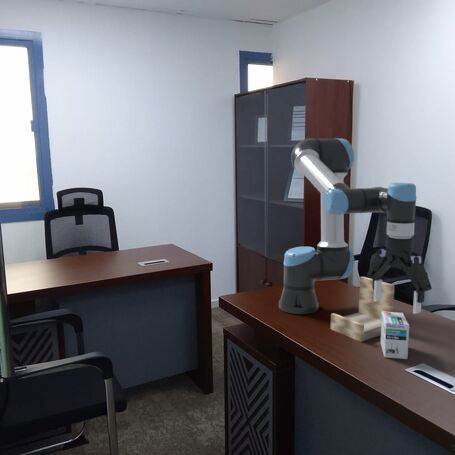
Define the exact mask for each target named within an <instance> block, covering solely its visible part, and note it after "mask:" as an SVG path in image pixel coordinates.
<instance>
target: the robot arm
mask: <svg viewBox="0 0 455 455" xmlns="http://www.w3.org/2000/svg"><path fill="white" fill-rule="evenodd" d="M290 162H291V165H292V167H293V168H294V170H295V171H296V172H297V173H299V174H300V175H304V177H306V179H307V180H308V181H309V182H310V183H311V185H313V187H314V188H315V189H316V190H317V191H318V192H319V193H320V241H319V242H318V244H317V246H316V247H317V248H316V249H315V248H314V247H312V246H307V245H306V246H297V247H292V248H289V249H288V250H286V251H285V253H284V255H283V256H284V259H283V289H282V293H281V296H280V298H279V300H278V309H280V310H281V311H282V312H285V313H288V314H294V315H309V314H314V313H316V312H318V310H319V300H318V298H317V294H316V291H315V282H317V281H318V282H319V281H329V280H331V281H332V280H335V281H337V280H341V279H346V278H348V277H349V276H350V275H351V274H352V272H353V270H354V267H355V257H354V253H353V250H352V249H350V248H349V244H348V243H347V242H345V235H344V234H345V228H344V227H345V226H344V225H345V222H344V221H345V220H344V219H345V218H344V217H345V216H344V215H346V214H365V213H366V214H367V213H368V214H371V213H373V214H374V213H383V214H386V216H387V218H386V233H385V234H386V235H387V236H386V237H385V248H380V249H377V250H376V255H375V258H374V260H373V262H372V264H371V265H370V267H369V269H368V272H367V274H366V275H367V278H370V279H372V280H373V285H372V288H373V290H374V301H375V302H376V301H380V300H381V295H382V282H383V279H381V278H382V276H384V275H385V273H386V272H387V271H389V269H390V268H391V267H392V268H396V269H400V270H401V269H402V270H403V272H405V273H406V275H407V277H408V278H409V280H410V282H411V283H412V285H413V287H414V289H416V290H414V291H413V304H412V305H413V306H412V307H413V308H412V314H414V315H416V314H420V313H421V312H422V303H424V302H425V293H426V292H428V291H431V290H432V289H433V287H432V285H431V281H430V279H429V277H428V274H427V271H426V268H425V265H424V262H423V261H424V260H423V256H422V255H418V256H417V255H416V256H415V255H413V250H414V240H415V239H414V238H413V236H415V218H416V206H417V205H416V203H417V187H416V185H415V183H411V182H393V183H392V182H391V183H389V185H388V188H387V187H383V186H375V187H374V186H373V187H367V188H366V187H364V188H360V187H359V188H350V187H349V186H348V185H347V184H346V183H345V182H344V178H345V177H346V176H347V175H348V170H349V169H351V168H353V165H354V162H355V153H354V148H353V147H352V144H351V143H350V142H349V140H348V139H345V138H339V137H331V138H330V137H329V138H314V137H313V138H305V139H303V140H301V141H299V142H298V143H297V144H296V145H295V146H294V148H293V149H292V152H291V154H290ZM385 258H386V261H384V259H385ZM383 261H384V262H383ZM382 262H383V264H382ZM381 264H382V265H381Z"/></svg>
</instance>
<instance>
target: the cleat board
mask: <svg viewBox="0 0 455 455" xmlns="http://www.w3.org/2000/svg"><path fill="white" fill-rule="evenodd" d="M372 285H373V280H372V278H371V277H368V276H367V277H366V276H360V277H359V294H358V296H359V297H358V298H359V299H358V312H355V313H352V314H349V315H345V316H342V315H340V314H337V313H335V312H333V313H330V330H332V331H333V332H336V333H338V334H341V335H344V336H345V337H346V336H347V337H349V338H351V339H353V340H355V341H358V342H360V343H362V342H364V341H368V340H370V339H373V338H376V337H379V336H381V322H382V311H384V312H394V302H395V301H394V300H395V284H392V283H388V282H384V281H382V295H381V300H380V301H376V302H375V301H374V290H373V288H372Z"/></svg>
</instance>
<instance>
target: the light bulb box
mask: <svg viewBox="0 0 455 455" xmlns="http://www.w3.org/2000/svg"><path fill="white" fill-rule="evenodd" d="M409 338H410V324H409V321H408V320H407V318H406V316H405V314H404V312H396V311H393V312H384V311H382V322H381V335H380V347H381V350H382V353H383V357H384V358H389V359H400V360H402V359H403V360H408V355H409Z"/></svg>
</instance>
